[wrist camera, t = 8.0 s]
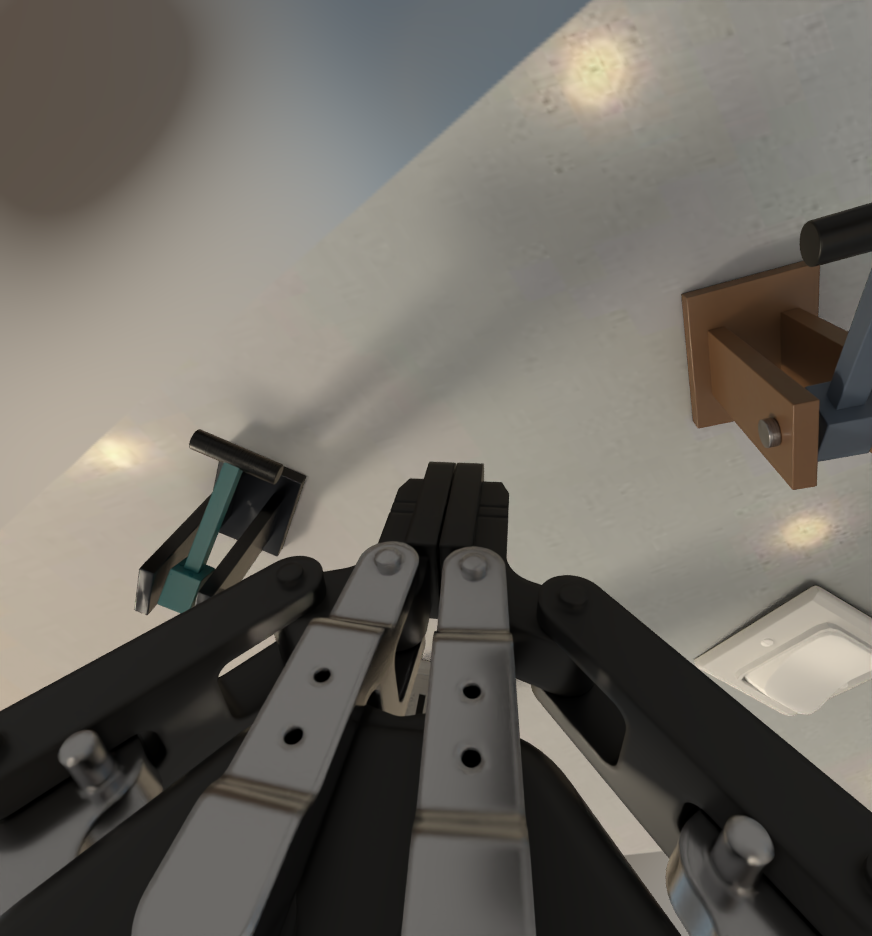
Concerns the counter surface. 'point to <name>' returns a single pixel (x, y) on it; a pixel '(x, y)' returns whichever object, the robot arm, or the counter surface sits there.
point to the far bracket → (247, 520)
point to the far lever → (212, 516)
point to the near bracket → (763, 363)
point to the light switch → (797, 653)
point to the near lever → (867, 344)
